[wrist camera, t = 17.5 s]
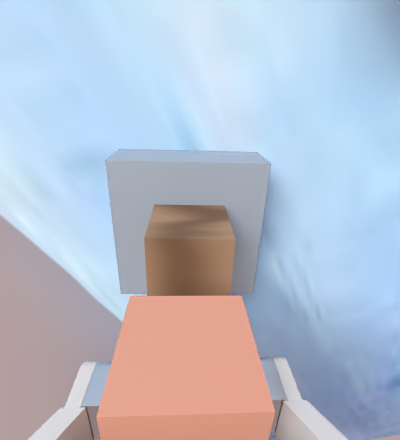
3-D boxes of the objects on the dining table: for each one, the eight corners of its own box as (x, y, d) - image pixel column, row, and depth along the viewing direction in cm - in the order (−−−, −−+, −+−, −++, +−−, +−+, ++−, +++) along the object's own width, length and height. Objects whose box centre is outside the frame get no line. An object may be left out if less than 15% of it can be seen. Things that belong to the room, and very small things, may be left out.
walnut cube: (224, 205, 19) (235, 239, 15) (220, 264, 22) (228, 309, 17) (154, 204, 19) (144, 238, 15) (156, 263, 21) (148, 309, 17)
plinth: (256, 152, 22) (270, 163, 18) (243, 265, 27) (252, 293, 23) (119, 149, 21) (105, 160, 18) (130, 265, 26) (120, 293, 22)
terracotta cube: (241, 295, 11) (275, 411, 7) (232, 370, 13) (254, 497, 9) (130, 296, 11) (96, 417, 7) (137, 373, 13) (114, 505, 9)
